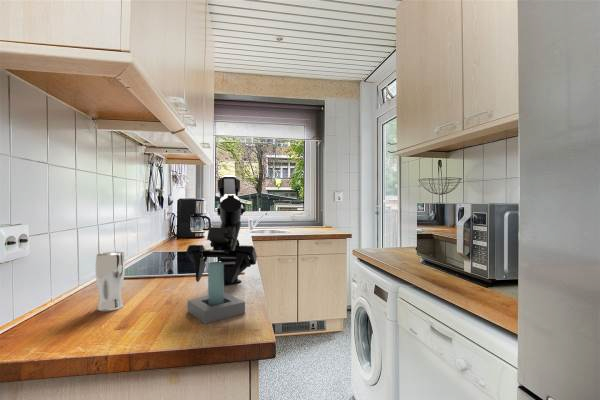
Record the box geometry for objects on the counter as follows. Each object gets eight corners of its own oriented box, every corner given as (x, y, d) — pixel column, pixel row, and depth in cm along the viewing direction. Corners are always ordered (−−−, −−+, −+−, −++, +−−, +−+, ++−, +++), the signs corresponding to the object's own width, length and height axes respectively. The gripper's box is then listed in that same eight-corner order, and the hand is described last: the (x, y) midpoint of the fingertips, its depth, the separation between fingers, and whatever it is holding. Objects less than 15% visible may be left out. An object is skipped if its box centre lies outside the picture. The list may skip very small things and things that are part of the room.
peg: (205, 312, 85) (205, 263, 85) (219, 308, 87) (219, 261, 87) (212, 316, 82) (212, 265, 82) (226, 312, 84) (226, 263, 84)
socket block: (187, 311, 85) (187, 300, 85) (225, 302, 92) (225, 292, 92) (205, 323, 77) (205, 311, 77) (245, 313, 84) (245, 301, 84)
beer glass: (91, 313, 84) (91, 256, 84) (100, 305, 91) (100, 252, 91) (121, 310, 86) (120, 255, 86) (127, 302, 93) (127, 251, 92)
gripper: (188, 216, 89) (168, 263, 78) (254, 216, 87) (242, 264, 76) (200, 240, 97) (183, 286, 86) (260, 241, 95) (251, 288, 84)
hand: (214, 281), depth 83 cm, fingers open, 9 cm apart
